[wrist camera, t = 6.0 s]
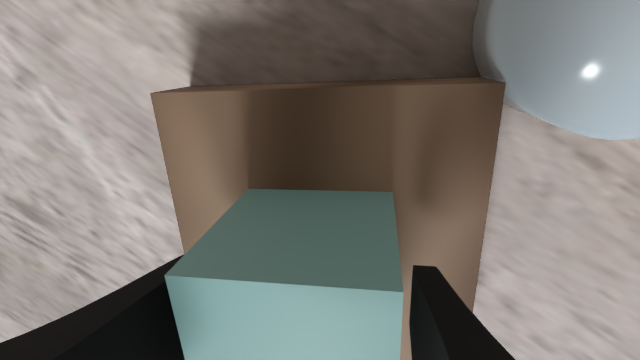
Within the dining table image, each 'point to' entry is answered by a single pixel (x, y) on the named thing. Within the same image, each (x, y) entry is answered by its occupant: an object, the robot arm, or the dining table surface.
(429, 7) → the dining table surface
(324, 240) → the teal cube
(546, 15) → the pale blue soap bar
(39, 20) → the dining table surface
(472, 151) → the walnut base
